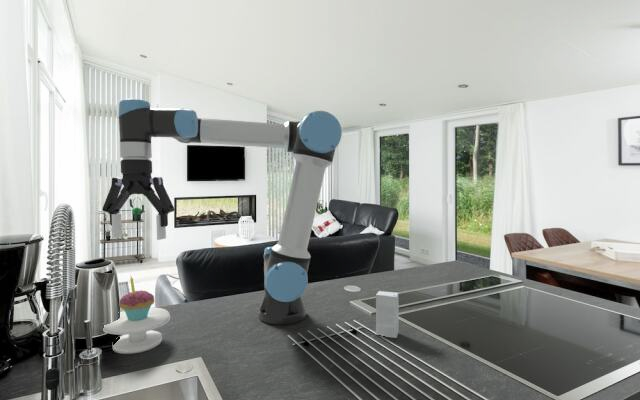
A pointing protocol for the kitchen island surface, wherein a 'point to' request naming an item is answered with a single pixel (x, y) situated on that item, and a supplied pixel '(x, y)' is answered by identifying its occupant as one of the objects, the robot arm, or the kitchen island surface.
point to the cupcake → (136, 303)
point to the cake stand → (138, 331)
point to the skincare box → (387, 314)
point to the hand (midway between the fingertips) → (139, 238)
